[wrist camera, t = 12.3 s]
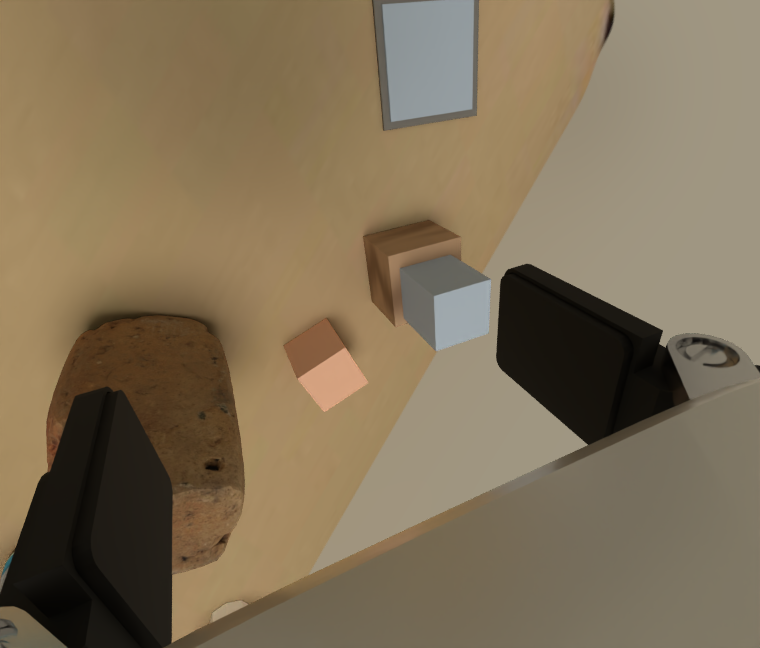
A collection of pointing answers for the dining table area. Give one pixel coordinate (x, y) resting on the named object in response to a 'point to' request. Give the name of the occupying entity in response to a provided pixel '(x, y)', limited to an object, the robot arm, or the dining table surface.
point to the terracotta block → (324, 365)
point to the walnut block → (403, 260)
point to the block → (169, 419)
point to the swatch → (426, 60)
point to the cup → (227, 609)
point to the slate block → (445, 301)
